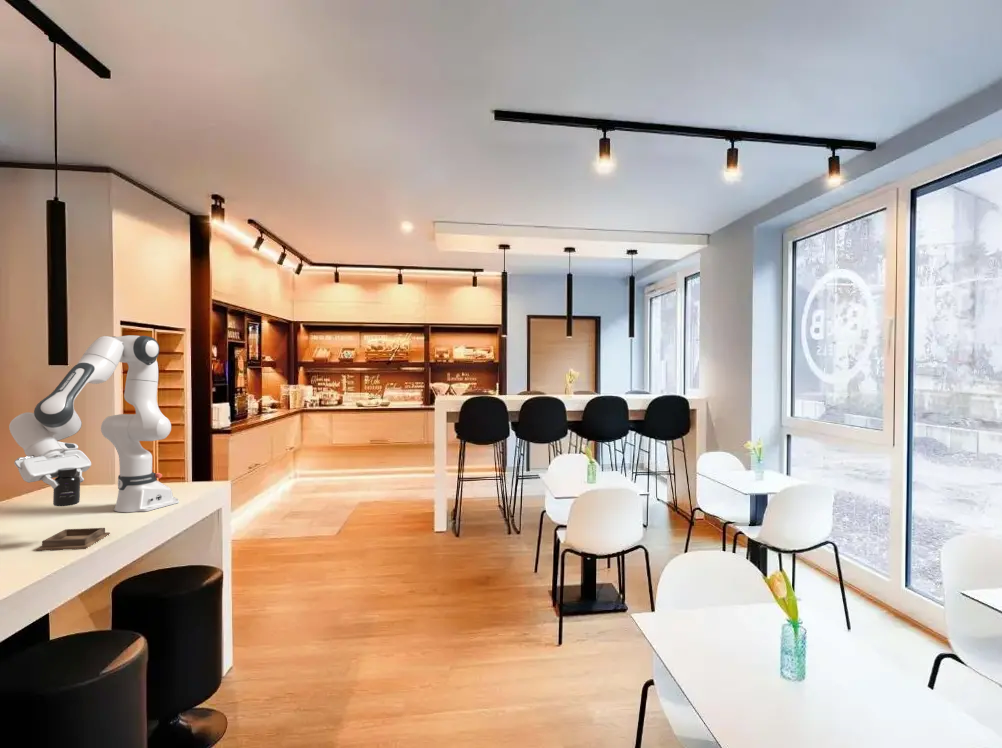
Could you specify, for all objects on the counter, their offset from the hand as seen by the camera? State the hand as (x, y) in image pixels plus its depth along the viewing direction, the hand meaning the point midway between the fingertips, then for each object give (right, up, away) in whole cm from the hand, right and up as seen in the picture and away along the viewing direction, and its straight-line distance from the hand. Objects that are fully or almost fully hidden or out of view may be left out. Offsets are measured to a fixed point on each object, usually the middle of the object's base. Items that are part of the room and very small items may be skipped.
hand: (69, 484), depth 171 cm
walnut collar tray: (+2, -20, -1) cm, 20 cm away
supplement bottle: (-1, -7, 0) cm, 7 cm away
